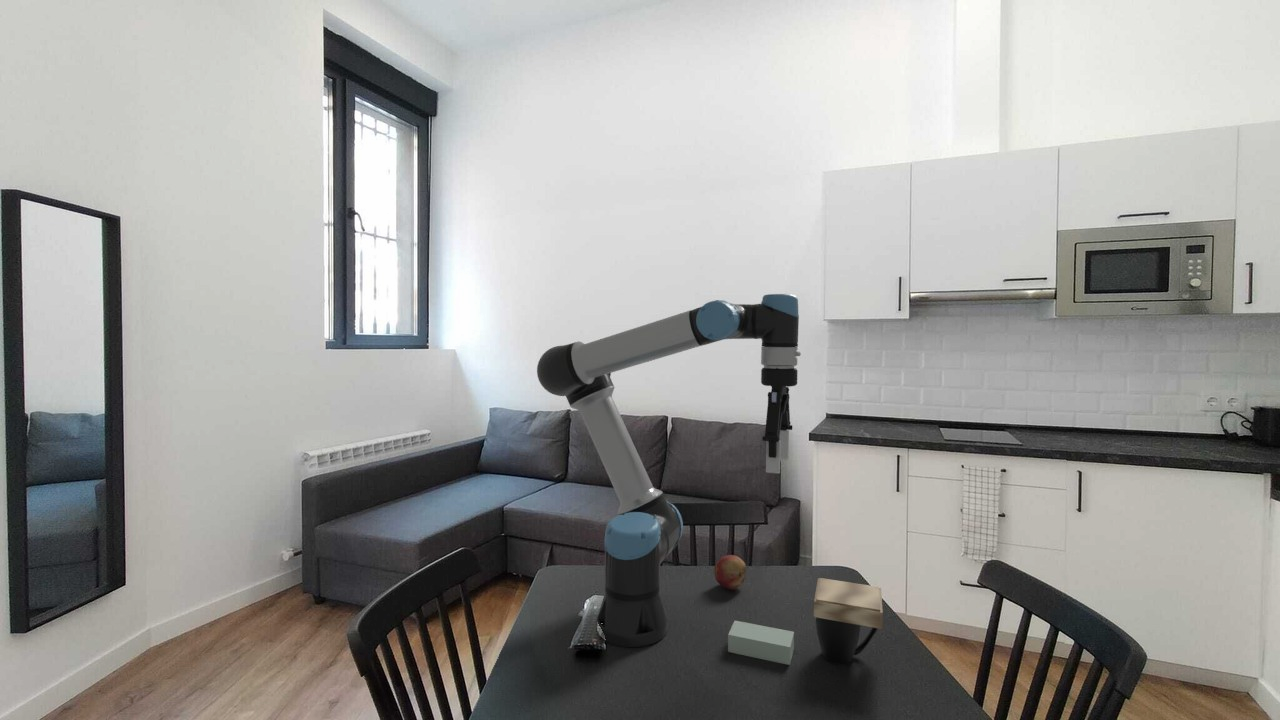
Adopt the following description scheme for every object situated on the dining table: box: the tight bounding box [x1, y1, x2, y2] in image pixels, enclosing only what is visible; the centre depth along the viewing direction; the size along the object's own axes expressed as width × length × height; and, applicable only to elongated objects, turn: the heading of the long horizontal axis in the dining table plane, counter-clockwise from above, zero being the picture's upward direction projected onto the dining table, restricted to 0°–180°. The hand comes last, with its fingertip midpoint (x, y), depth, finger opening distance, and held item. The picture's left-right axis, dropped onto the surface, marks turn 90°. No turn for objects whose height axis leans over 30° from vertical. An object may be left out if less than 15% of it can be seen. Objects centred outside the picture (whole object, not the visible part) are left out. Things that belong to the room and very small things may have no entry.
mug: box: [815, 617, 879, 665], centre depth 111 cm, size 8×12×10 cm
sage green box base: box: [727, 620, 795, 666], centre depth 114 cm, size 12×6×4 cm, turn 68°
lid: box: [813, 577, 884, 630], centre depth 111 cm, size 12×11×3 cm
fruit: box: [713, 554, 747, 590], centre depth 141 cm, size 8×8×8 cm
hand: (777, 465), depth 123 cm, fingers open, 13 cm apart
